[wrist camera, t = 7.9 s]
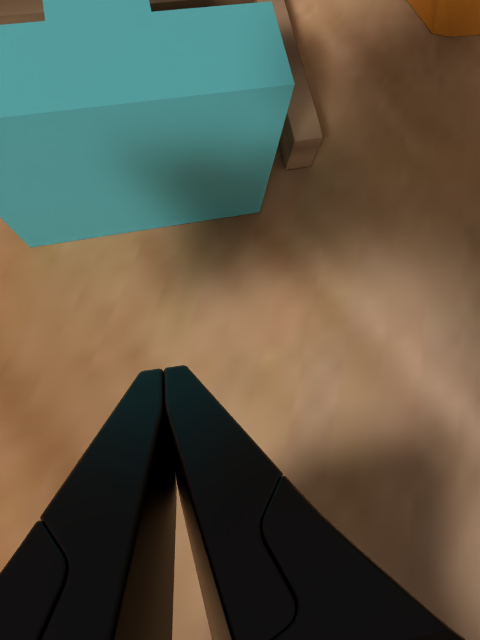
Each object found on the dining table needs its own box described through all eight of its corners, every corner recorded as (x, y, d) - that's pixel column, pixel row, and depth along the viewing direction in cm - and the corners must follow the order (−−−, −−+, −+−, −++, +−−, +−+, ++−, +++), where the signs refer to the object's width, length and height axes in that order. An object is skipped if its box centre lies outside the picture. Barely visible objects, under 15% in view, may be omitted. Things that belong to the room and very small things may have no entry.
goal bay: (311, 166, 24) (323, 137, 21) (-47, 216, 21) (-78, 190, 19) (269, 12, 26) (275, -29, 24) (-58, 42, 24) (-88, -1, 21)
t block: (259, 212, 23) (294, 84, 14) (30, 247, 21) (-89, 127, 13) (221, 53, 25) (231, -142, 16) (11, 74, 24) (-102, -129, 15)
